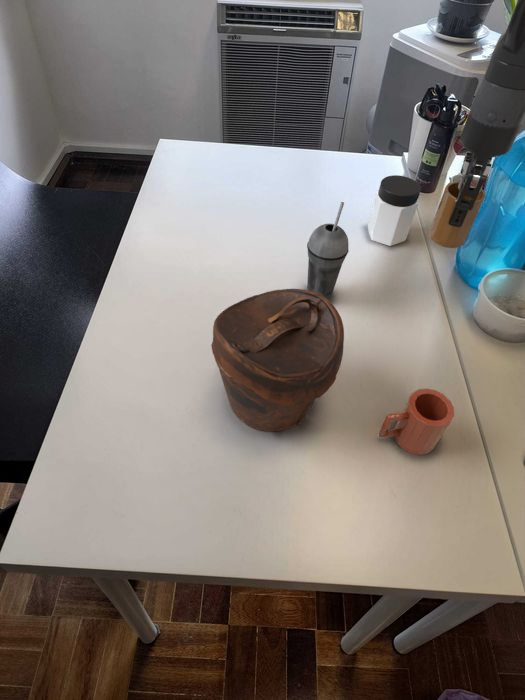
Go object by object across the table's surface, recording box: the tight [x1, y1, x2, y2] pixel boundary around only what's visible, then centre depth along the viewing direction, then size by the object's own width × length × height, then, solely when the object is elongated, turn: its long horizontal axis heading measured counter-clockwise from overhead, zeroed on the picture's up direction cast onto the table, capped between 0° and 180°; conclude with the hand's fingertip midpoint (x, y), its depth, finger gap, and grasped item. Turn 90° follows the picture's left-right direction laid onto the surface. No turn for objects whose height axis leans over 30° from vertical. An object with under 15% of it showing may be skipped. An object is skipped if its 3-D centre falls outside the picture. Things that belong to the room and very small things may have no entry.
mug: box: [377, 388, 455, 456], centre depth 68 cm, size 9×6×8 cm, turn 99°
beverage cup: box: [306, 201, 349, 301], centre depth 83 cm, size 7×7×20 cm
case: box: [210, 288, 345, 432], centre depth 68 cm, size 18×20×18 cm
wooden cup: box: [428, 181, 487, 249], centre depth 81 cm, size 6×6×9 cm
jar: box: [367, 174, 422, 247], centre depth 100 cm, size 9×8×12 cm
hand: (456, 213), depth 81 cm, fingers closed on wooden cup, 6 cm apart
